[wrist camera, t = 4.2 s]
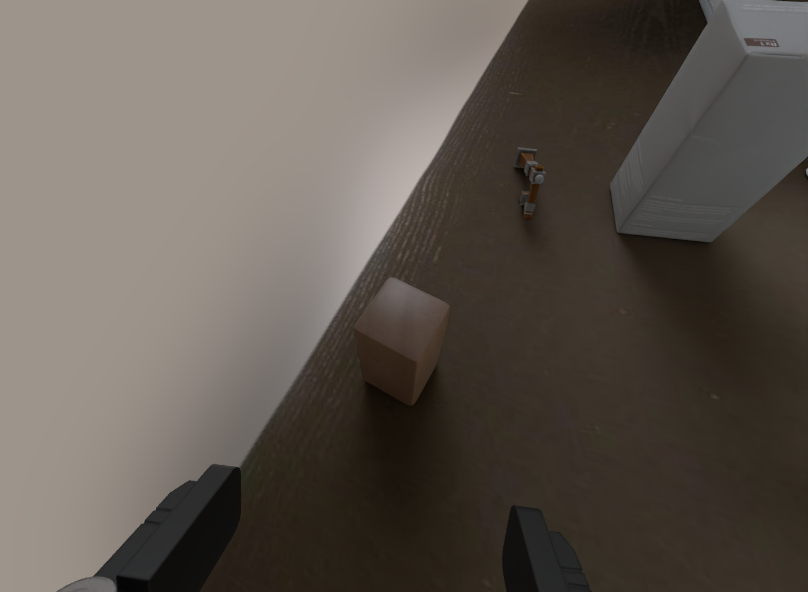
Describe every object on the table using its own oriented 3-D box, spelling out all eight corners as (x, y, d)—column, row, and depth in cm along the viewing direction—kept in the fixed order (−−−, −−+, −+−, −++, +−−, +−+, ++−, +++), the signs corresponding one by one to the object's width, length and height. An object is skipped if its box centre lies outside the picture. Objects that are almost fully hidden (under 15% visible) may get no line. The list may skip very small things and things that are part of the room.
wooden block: (361, 380, 26) (349, 327, 19) (391, 335, 28) (389, 272, 21) (412, 409, 25) (418, 364, 19) (439, 360, 27) (454, 303, 20)
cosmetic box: (693, 194, 36) (868, -3, 23) (713, 253, 33) (935, 58, 19) (602, 183, 37) (721, -16, 24) (611, 239, 33) (758, 41, 20)
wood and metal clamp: (517, 221, 33) (531, 168, 30) (507, 190, 40) (518, 145, 37) (539, 224, 33) (554, 171, 30) (525, 192, 39) (537, 147, 37)
